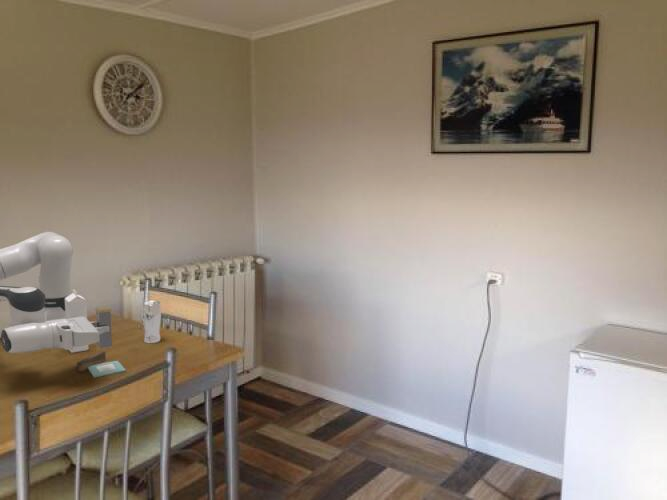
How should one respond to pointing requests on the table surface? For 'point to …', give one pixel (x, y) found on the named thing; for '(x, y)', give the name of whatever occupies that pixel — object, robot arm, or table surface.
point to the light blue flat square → (106, 369)
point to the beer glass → (151, 321)
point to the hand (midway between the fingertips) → (106, 326)
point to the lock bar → (103, 320)
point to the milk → (76, 313)
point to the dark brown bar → (91, 361)
